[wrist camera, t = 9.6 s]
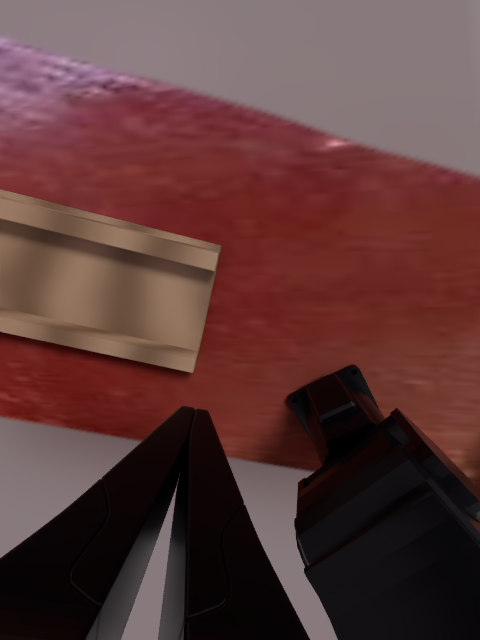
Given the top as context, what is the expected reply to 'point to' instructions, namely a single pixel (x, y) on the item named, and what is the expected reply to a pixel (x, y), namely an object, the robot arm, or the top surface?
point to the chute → (103, 283)
